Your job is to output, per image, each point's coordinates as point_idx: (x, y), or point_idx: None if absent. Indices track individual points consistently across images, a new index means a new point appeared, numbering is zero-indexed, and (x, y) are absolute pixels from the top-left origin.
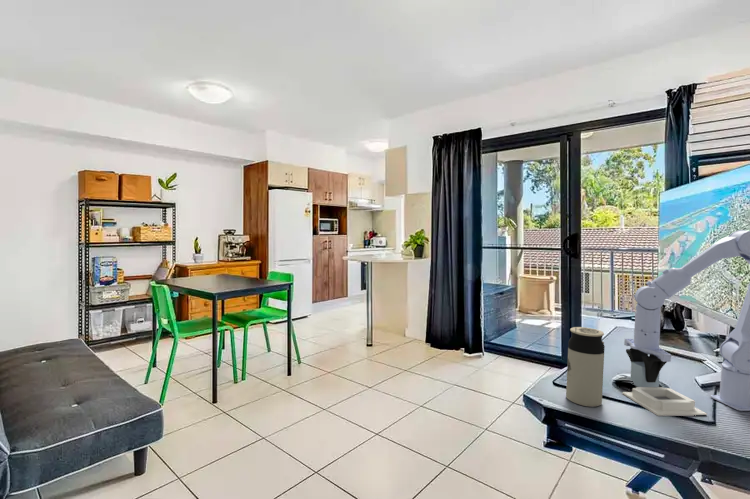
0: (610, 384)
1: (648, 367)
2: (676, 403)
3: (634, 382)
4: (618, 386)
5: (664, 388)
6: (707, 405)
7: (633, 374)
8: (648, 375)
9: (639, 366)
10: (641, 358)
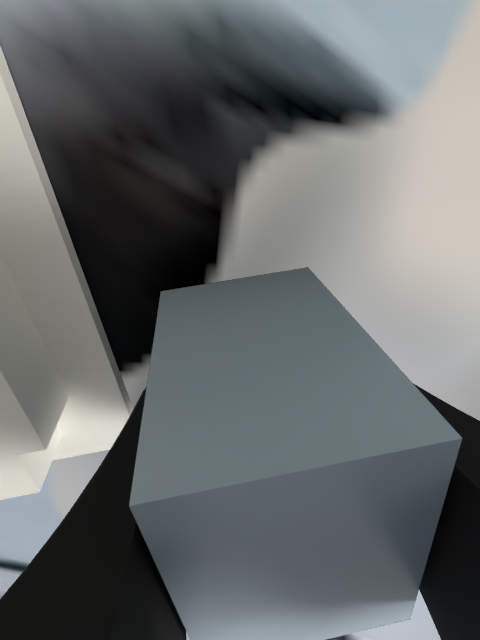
0: (308, 8)
1: (8, 599)
2: None
3: (254, 286)
4: (250, 93)
5: (9, 455)
6: (15, 549)
7: (302, 323)
8: (113, 450)
9: (201, 473)
10: (475, 633)
